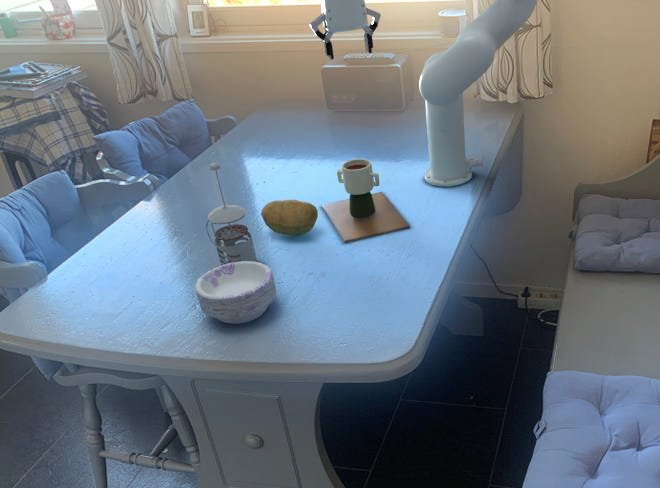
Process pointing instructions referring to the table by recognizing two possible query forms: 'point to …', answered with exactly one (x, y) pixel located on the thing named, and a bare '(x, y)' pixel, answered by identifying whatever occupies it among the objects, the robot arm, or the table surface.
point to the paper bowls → (236, 291)
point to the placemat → (365, 219)
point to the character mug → (359, 186)
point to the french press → (230, 232)
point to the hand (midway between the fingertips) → (350, 55)
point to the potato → (289, 216)
